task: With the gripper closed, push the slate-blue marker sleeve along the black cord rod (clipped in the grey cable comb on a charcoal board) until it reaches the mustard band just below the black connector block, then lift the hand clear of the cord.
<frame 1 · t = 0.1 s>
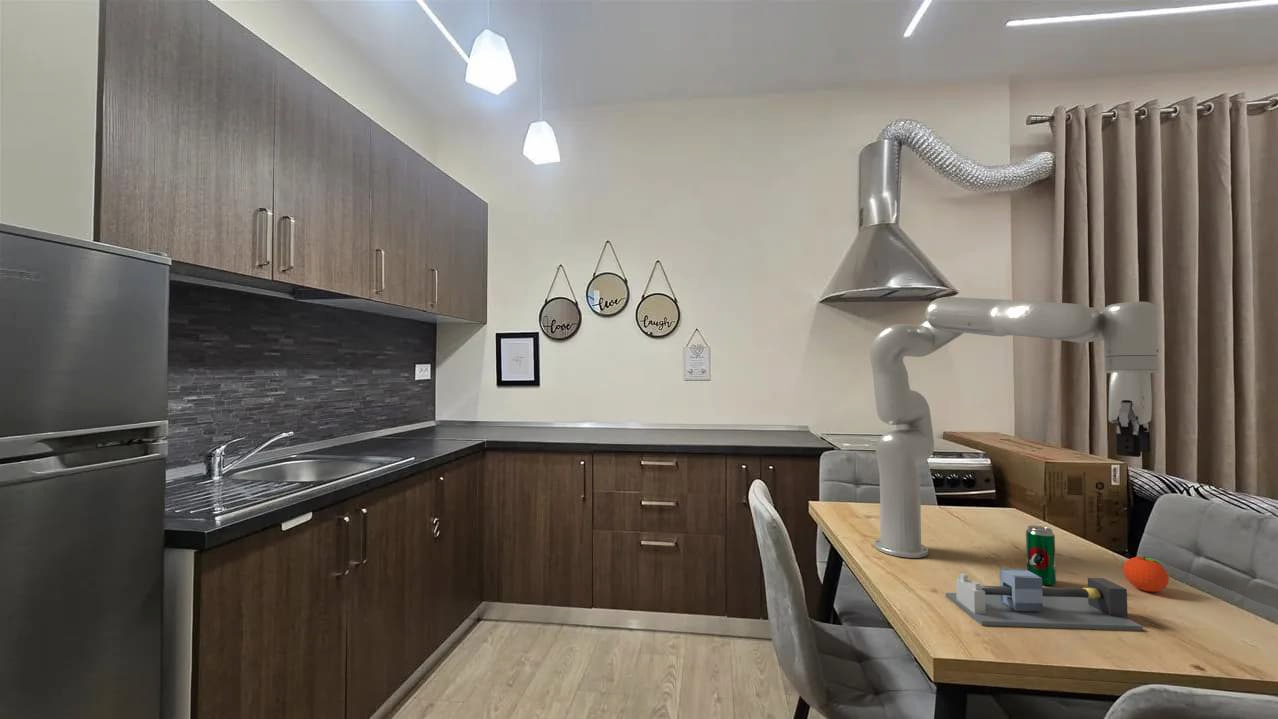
hand: (1133, 453, 96), 31 cm above the table, tool pointing down, fingers open, 9 cm apart
cord assembly: (1039, 612, 96), on the table
soda can: (1041, 583, 110), on the table
clementine: (1149, 591, 106), on the table
sleeve: (1020, 589, 97), point 4 cm above the table, slide at -3.5 cm
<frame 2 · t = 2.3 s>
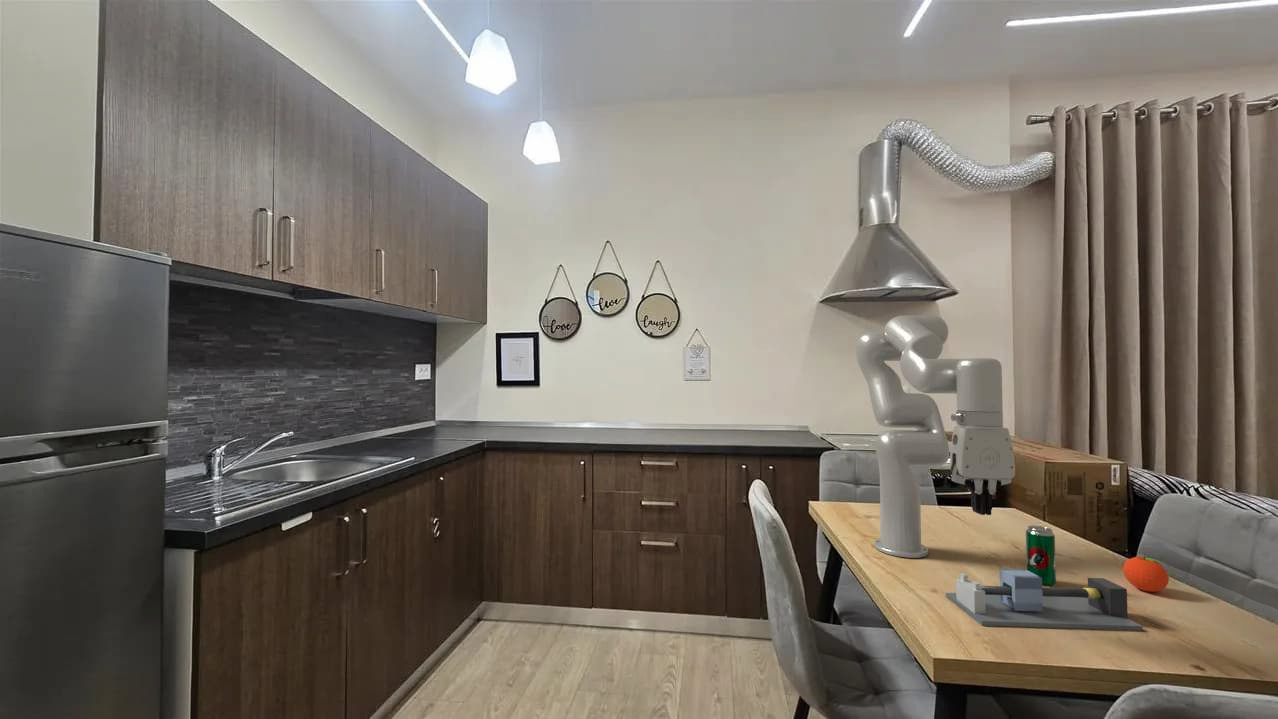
hand: (981, 512, 97), 19 cm above the table, tool pointing down, fingers closed
nothing on the table moved.
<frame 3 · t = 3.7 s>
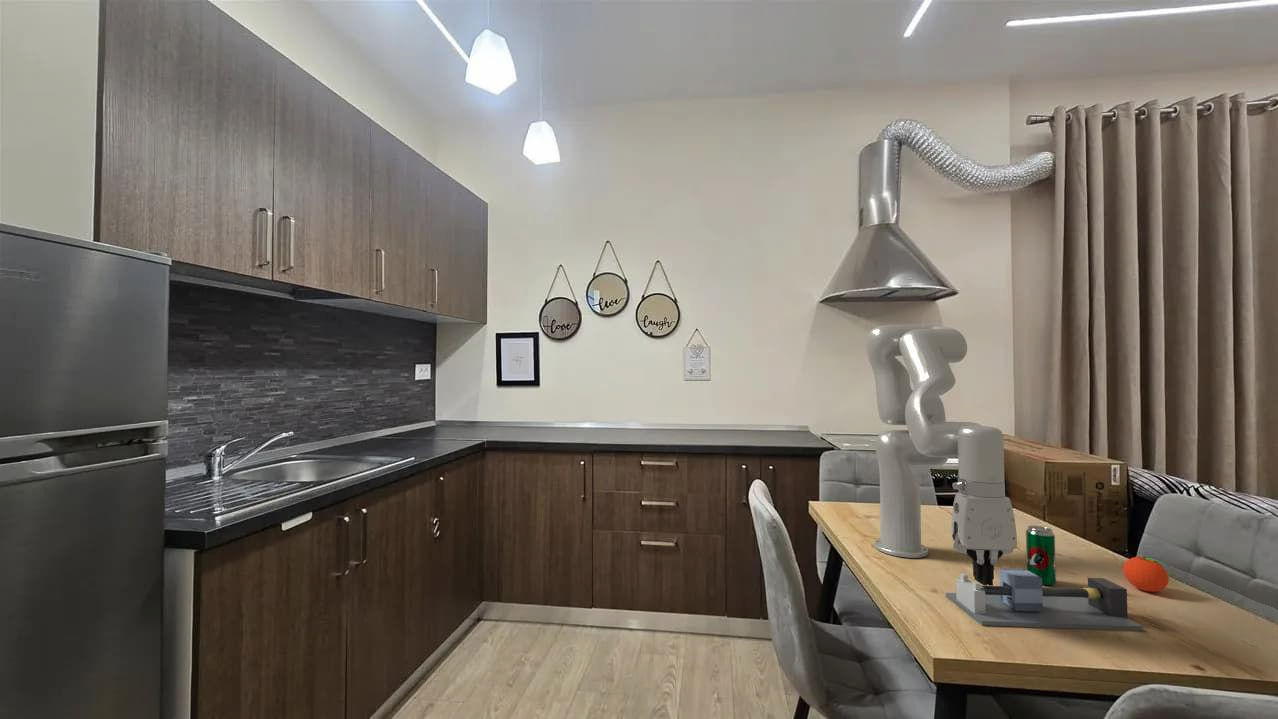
hand: (983, 582, 97), 6 cm above the table, tool pointing down, fingers closed
nothing on the table moved.
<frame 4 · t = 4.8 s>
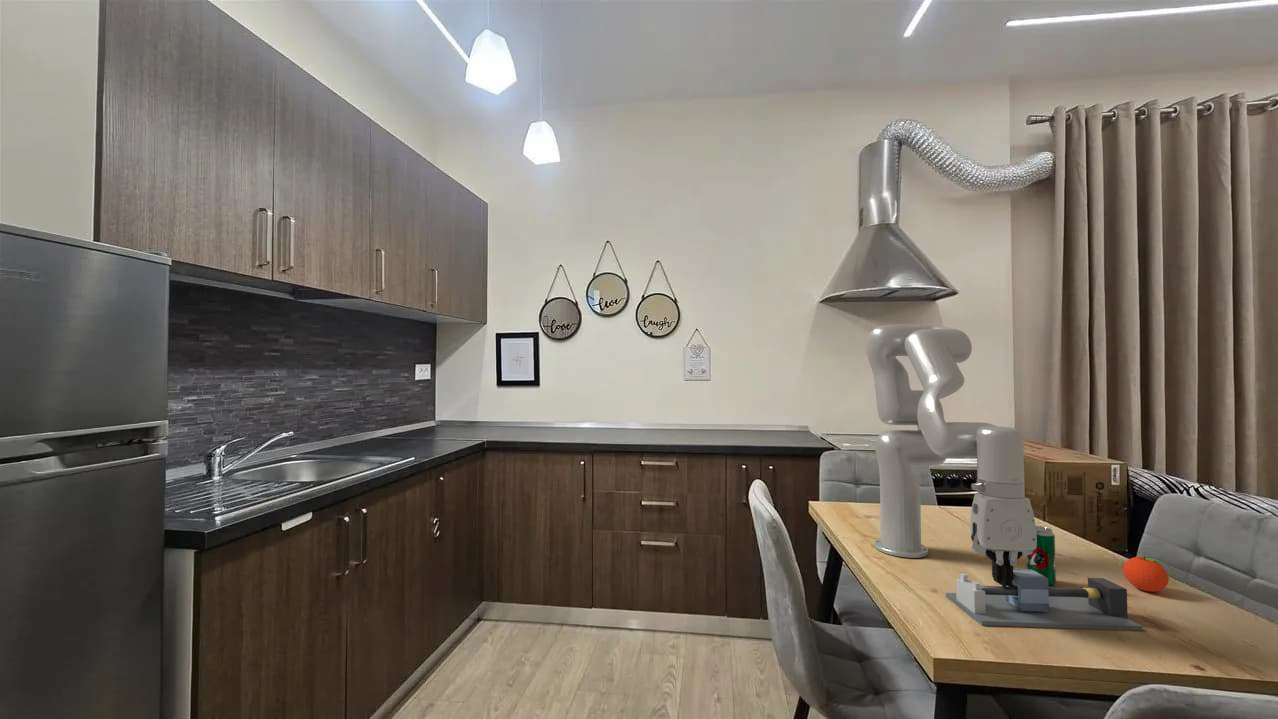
hand: (1002, 583, 97), 5 cm above the table, tool pointing down, fingers closed
sleeve: (1026, 589, 96), point 4 cm above the table, slide at -2.4 cm, touching gripper
everything else where it was.
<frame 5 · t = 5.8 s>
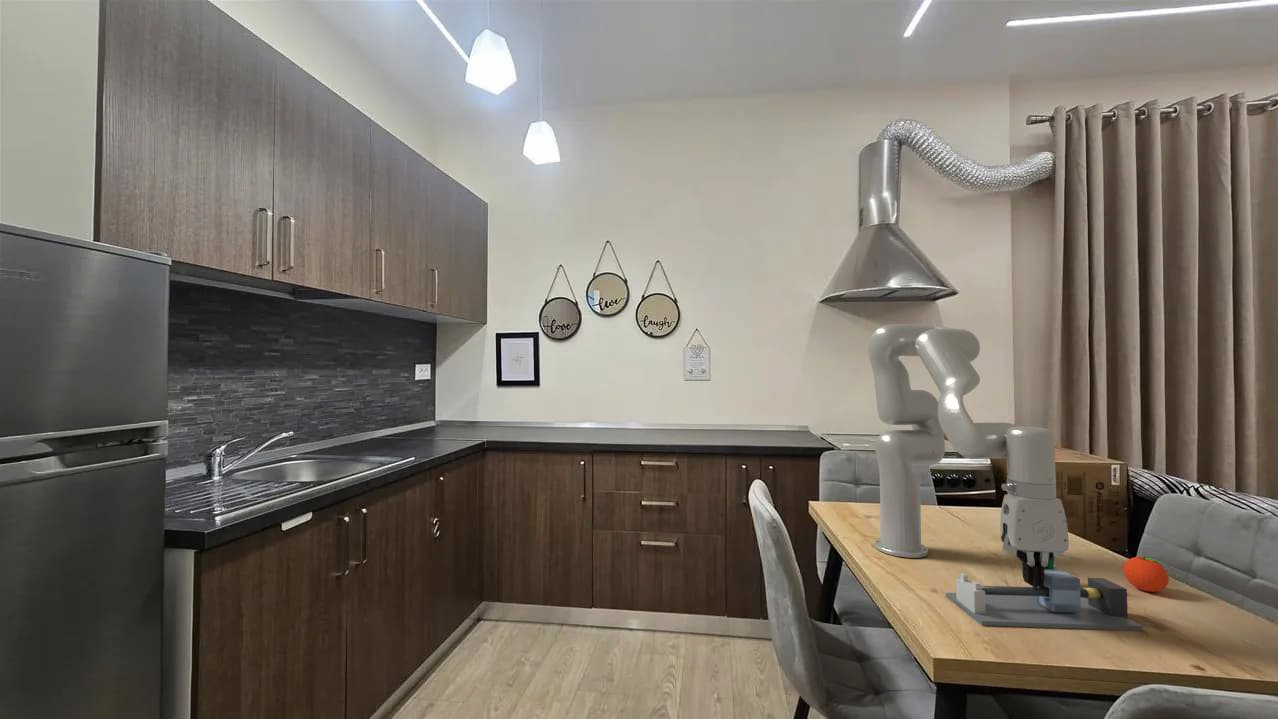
hand: (1033, 584, 96), 5 cm above the table, tool pointing down, fingers closed
sleeve: (1057, 590, 96), point 4 cm above the table, slide at 3.4 cm, touching gripper
everything else where it was.
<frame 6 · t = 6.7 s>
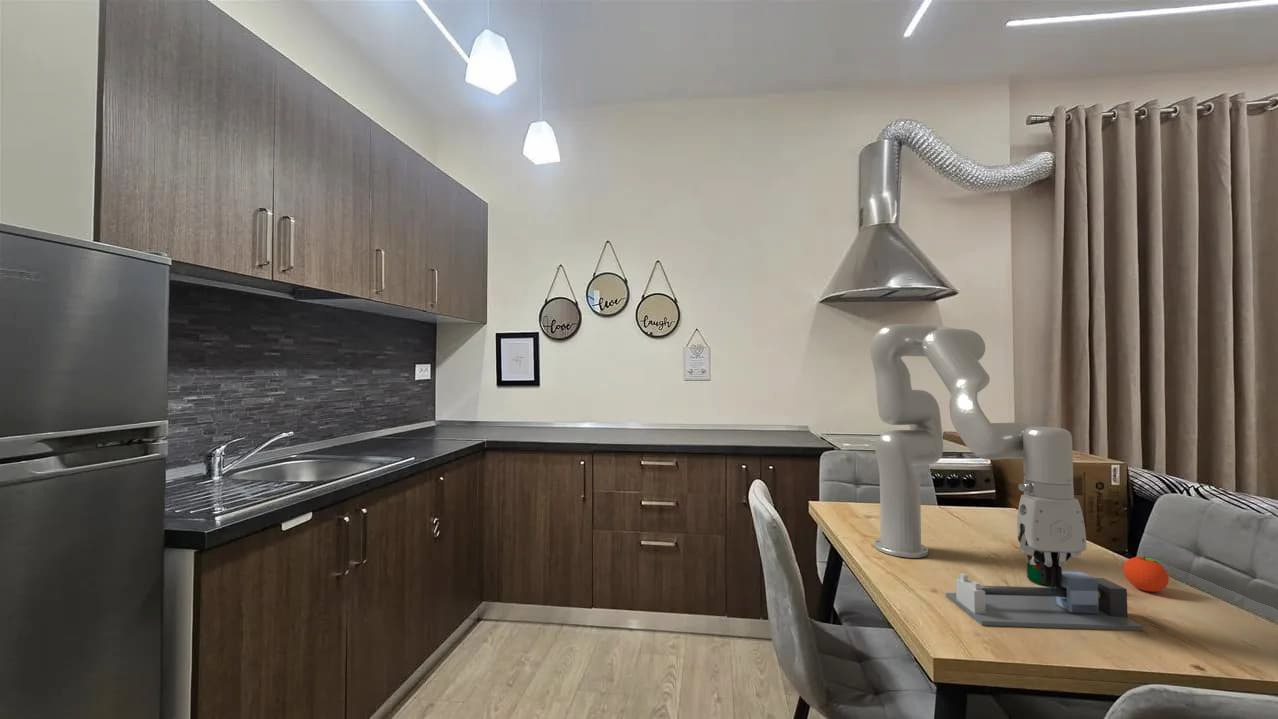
hand: (1050, 584, 96), 5 cm above the table, tool pointing down, fingers closed
sleeve: (1074, 590, 96), point 4 cm above the table, slide at 6.6 cm, touching gripper
everything else where it was.
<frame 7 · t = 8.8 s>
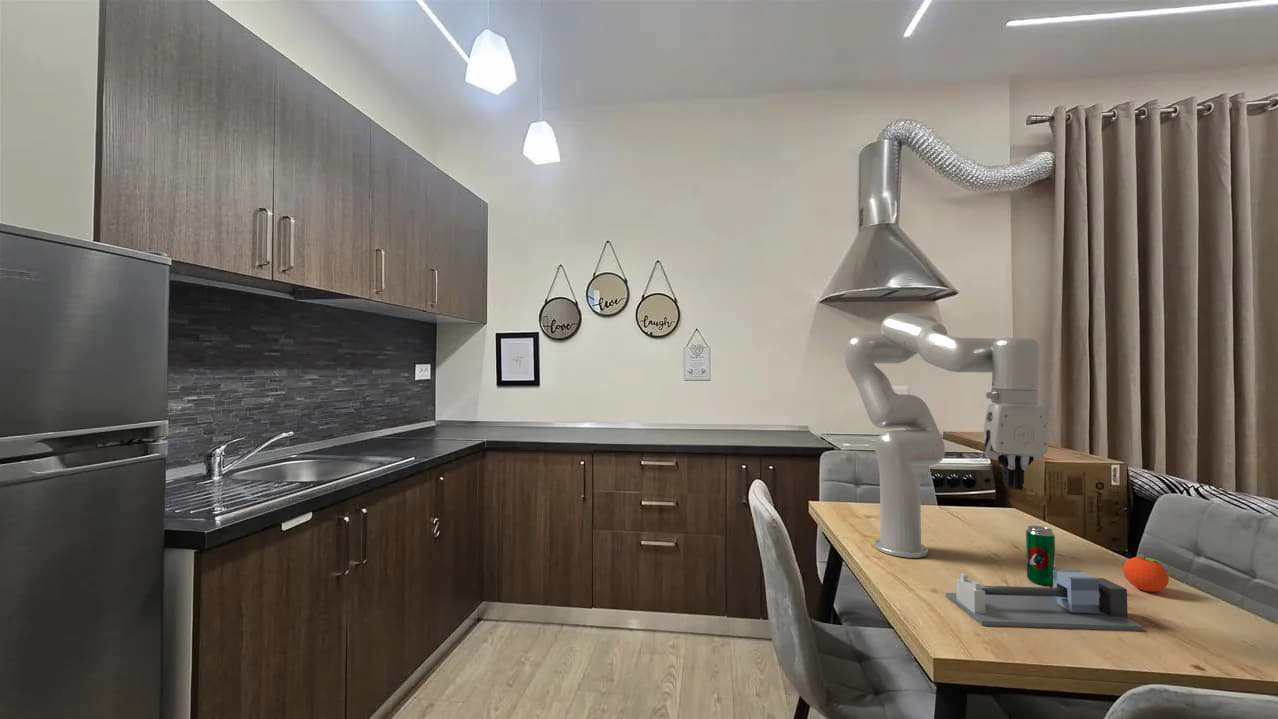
hand: (1013, 487, 101), 23 cm above the table, tool pointing down, fingers closed
sleeve: (1075, 590, 96), point 4 cm above the table, slide at 6.7 cm
everything else where it was.
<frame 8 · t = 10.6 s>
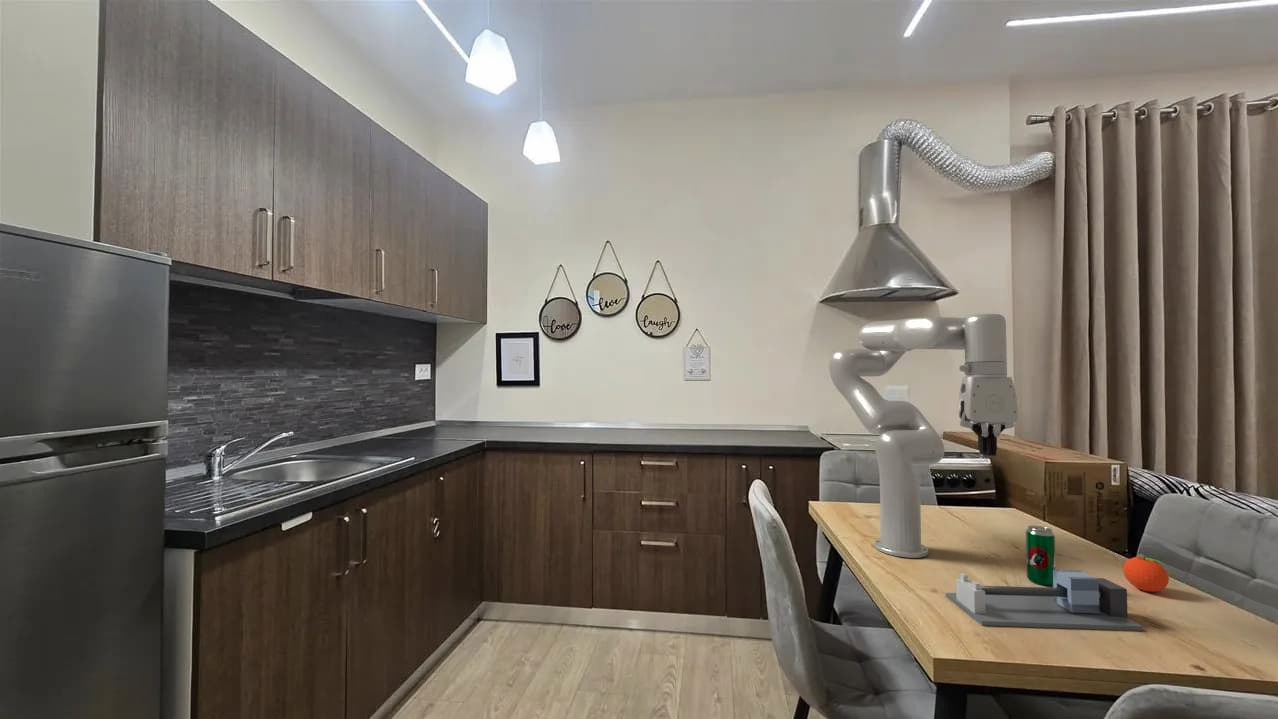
hand: (987, 454, 107), 29 cm above the table, tool pointing down, fingers closed
nothing on the table moved.
at the end: sleeve slide at 6.7 cm; sleeve touching nothing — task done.
